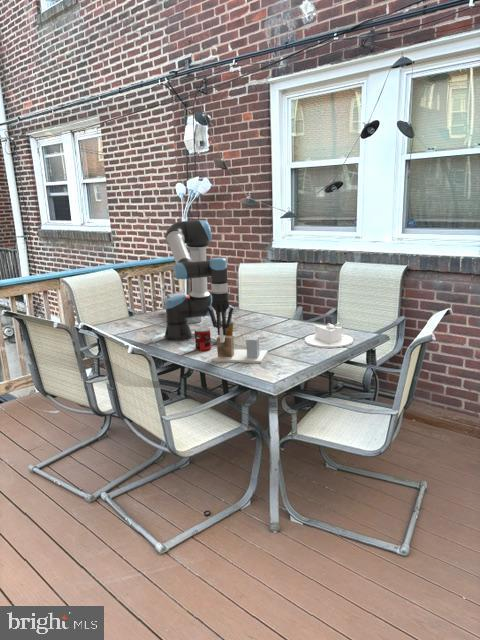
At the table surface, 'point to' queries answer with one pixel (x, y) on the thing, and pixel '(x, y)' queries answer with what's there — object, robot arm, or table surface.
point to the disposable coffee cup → (230, 328)
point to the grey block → (252, 347)
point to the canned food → (202, 339)
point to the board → (242, 357)
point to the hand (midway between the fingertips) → (222, 341)
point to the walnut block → (225, 347)
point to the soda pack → (190, 320)
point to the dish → (328, 337)
